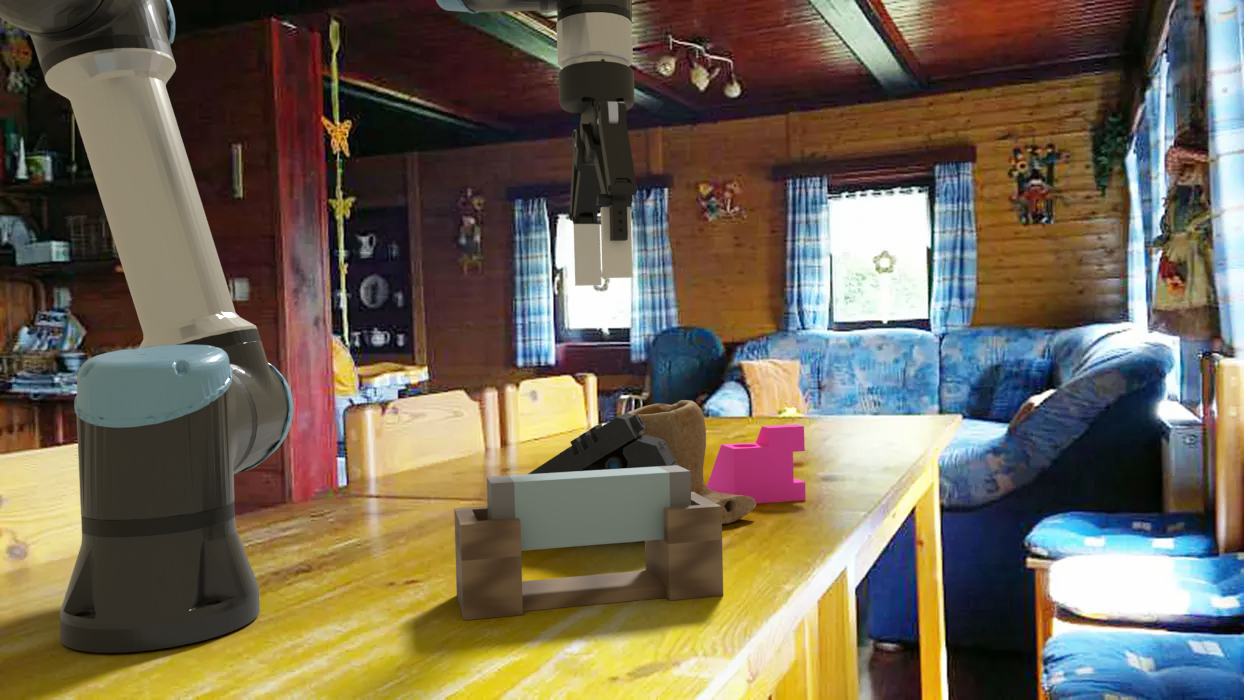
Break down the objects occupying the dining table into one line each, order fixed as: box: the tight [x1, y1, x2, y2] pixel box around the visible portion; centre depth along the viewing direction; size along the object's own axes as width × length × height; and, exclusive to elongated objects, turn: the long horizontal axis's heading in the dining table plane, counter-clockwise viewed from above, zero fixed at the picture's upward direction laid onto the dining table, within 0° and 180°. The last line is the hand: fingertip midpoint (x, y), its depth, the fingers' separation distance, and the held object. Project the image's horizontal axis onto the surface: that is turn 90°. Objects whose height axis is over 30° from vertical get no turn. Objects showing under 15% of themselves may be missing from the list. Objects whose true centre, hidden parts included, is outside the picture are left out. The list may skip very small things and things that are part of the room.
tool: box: [528, 412, 677, 474], centre depth 107 cm, size 6×19×15 cm, turn 78°
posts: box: [453, 492, 724, 621], centre depth 85 cm, size 23×8×8 cm, turn 104°
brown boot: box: [627, 399, 757, 525], centre depth 118 cm, size 15×12×15 cm
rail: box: [486, 465, 691, 552], centre depth 85 cm, size 18×4×6 cm, turn 104°
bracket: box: [706, 424, 807, 504], centre depth 134 cm, size 12×10×10 cm
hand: (601, 282), depth 94 cm, fingers open, 13 cm apart
